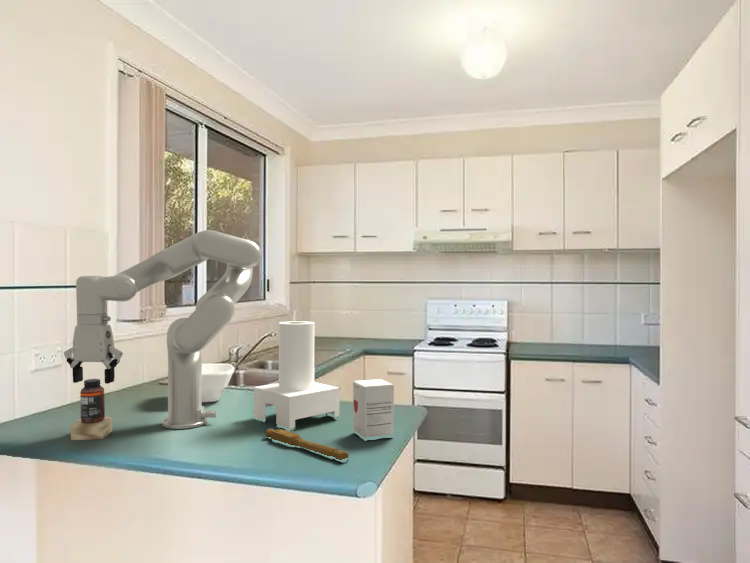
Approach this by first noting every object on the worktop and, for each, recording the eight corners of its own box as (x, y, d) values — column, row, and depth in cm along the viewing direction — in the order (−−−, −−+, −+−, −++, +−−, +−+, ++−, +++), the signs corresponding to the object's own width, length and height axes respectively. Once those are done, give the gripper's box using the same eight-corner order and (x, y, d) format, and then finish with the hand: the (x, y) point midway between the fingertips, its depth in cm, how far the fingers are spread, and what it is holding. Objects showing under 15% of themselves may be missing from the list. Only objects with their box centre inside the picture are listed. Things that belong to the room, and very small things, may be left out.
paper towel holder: (302, 409, 184) (302, 319, 183) (339, 419, 170) (339, 322, 170) (253, 419, 170) (253, 322, 170) (289, 431, 157) (289, 326, 157)
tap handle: (340, 453, 130) (263, 428, 150) (340, 466, 130) (262, 439, 150) (349, 450, 132) (272, 426, 152) (349, 462, 132) (271, 437, 152)
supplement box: (351, 433, 156) (352, 380, 156) (380, 429, 160) (381, 378, 159) (363, 442, 148) (364, 386, 147) (394, 438, 151) (394, 383, 151)
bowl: (164, 410, 181) (164, 375, 181) (172, 396, 203) (172, 364, 202) (233, 407, 186) (233, 372, 186) (234, 393, 208) (234, 362, 208)
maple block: (112, 430, 157) (112, 416, 157) (102, 439, 149) (102, 424, 149) (82, 431, 156) (82, 417, 156) (70, 440, 148) (70, 425, 148)
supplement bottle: (98, 416, 157) (98, 377, 157) (108, 420, 153) (108, 379, 153) (76, 421, 152) (76, 380, 152) (86, 424, 148) (86, 382, 148)
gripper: (129, 319, 154) (130, 380, 155) (74, 319, 157) (75, 378, 158) (112, 321, 147) (113, 385, 147) (54, 321, 150) (55, 384, 150)
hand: (93, 382), depth 153 cm, fingers open, 9 cm apart
